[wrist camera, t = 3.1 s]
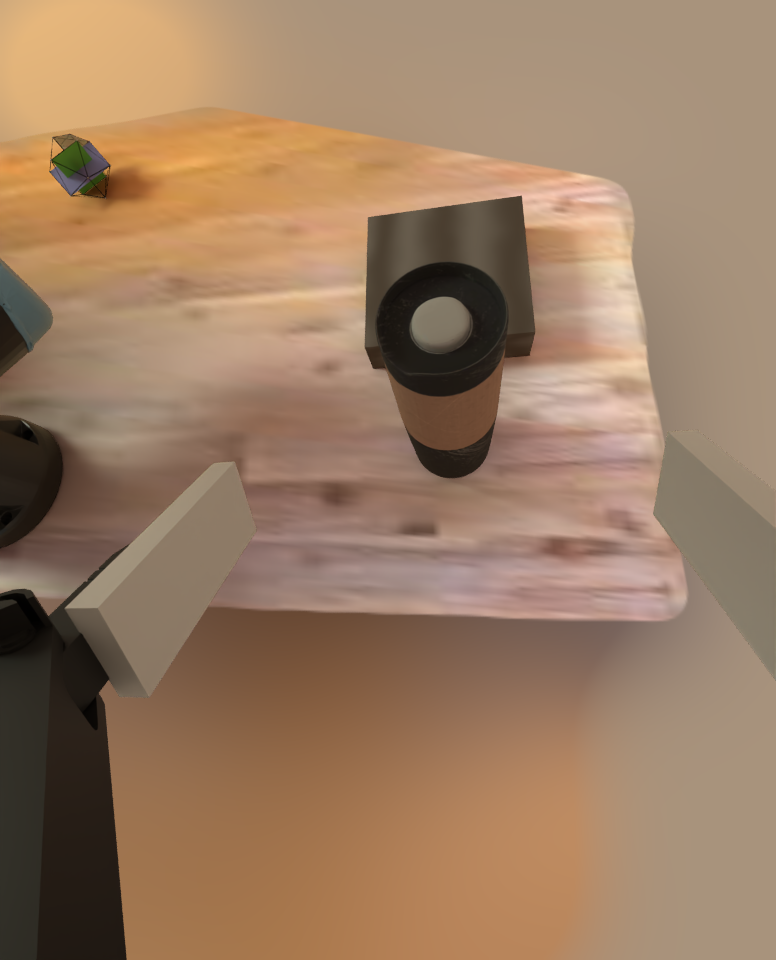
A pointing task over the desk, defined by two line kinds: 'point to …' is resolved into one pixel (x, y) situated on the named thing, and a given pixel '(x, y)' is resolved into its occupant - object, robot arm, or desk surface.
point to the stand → (454, 258)
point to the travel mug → (445, 361)
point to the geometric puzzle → (78, 165)
